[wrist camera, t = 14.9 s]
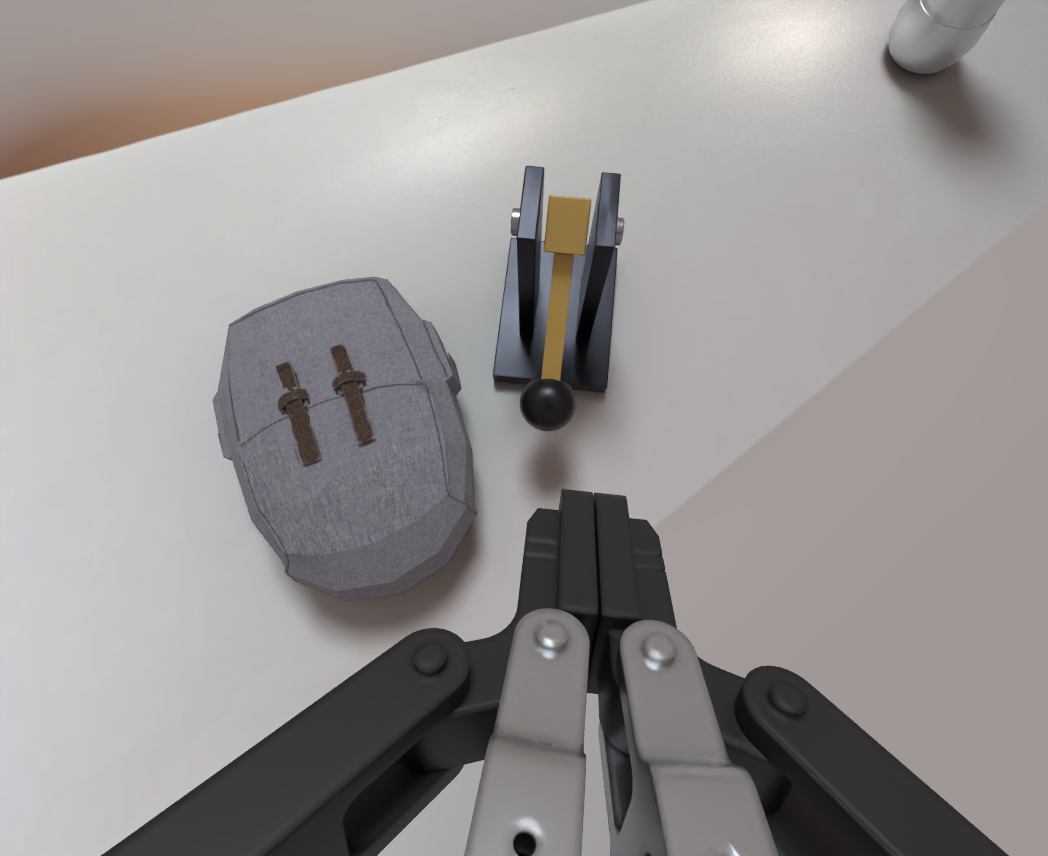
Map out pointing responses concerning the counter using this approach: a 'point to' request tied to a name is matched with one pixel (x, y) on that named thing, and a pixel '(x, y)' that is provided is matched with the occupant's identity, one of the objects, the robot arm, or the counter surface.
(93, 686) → the counter surface
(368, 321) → the soft grey pack
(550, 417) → the lever
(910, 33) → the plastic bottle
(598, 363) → the lock bracket
